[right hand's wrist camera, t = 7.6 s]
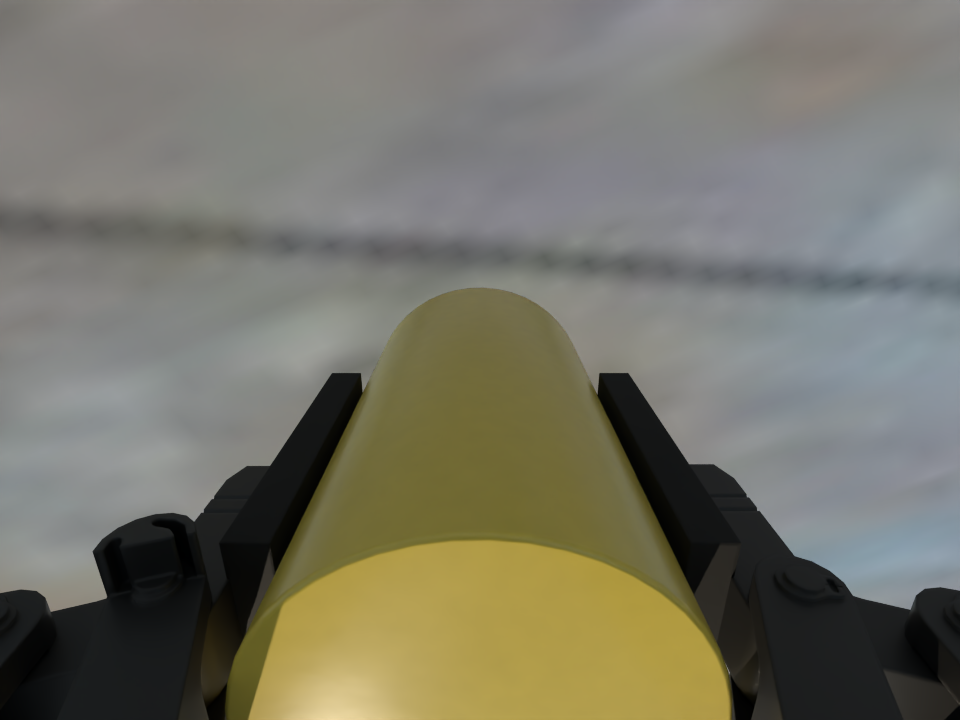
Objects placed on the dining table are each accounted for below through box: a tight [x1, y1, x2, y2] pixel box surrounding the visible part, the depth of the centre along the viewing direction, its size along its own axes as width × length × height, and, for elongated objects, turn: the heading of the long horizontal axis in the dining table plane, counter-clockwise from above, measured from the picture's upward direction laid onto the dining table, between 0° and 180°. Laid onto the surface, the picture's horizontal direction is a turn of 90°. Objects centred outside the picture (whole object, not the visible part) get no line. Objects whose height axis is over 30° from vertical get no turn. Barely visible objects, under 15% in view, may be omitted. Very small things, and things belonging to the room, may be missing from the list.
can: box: [225, 288, 732, 720], centre depth 12 cm, size 6×6×11 cm
